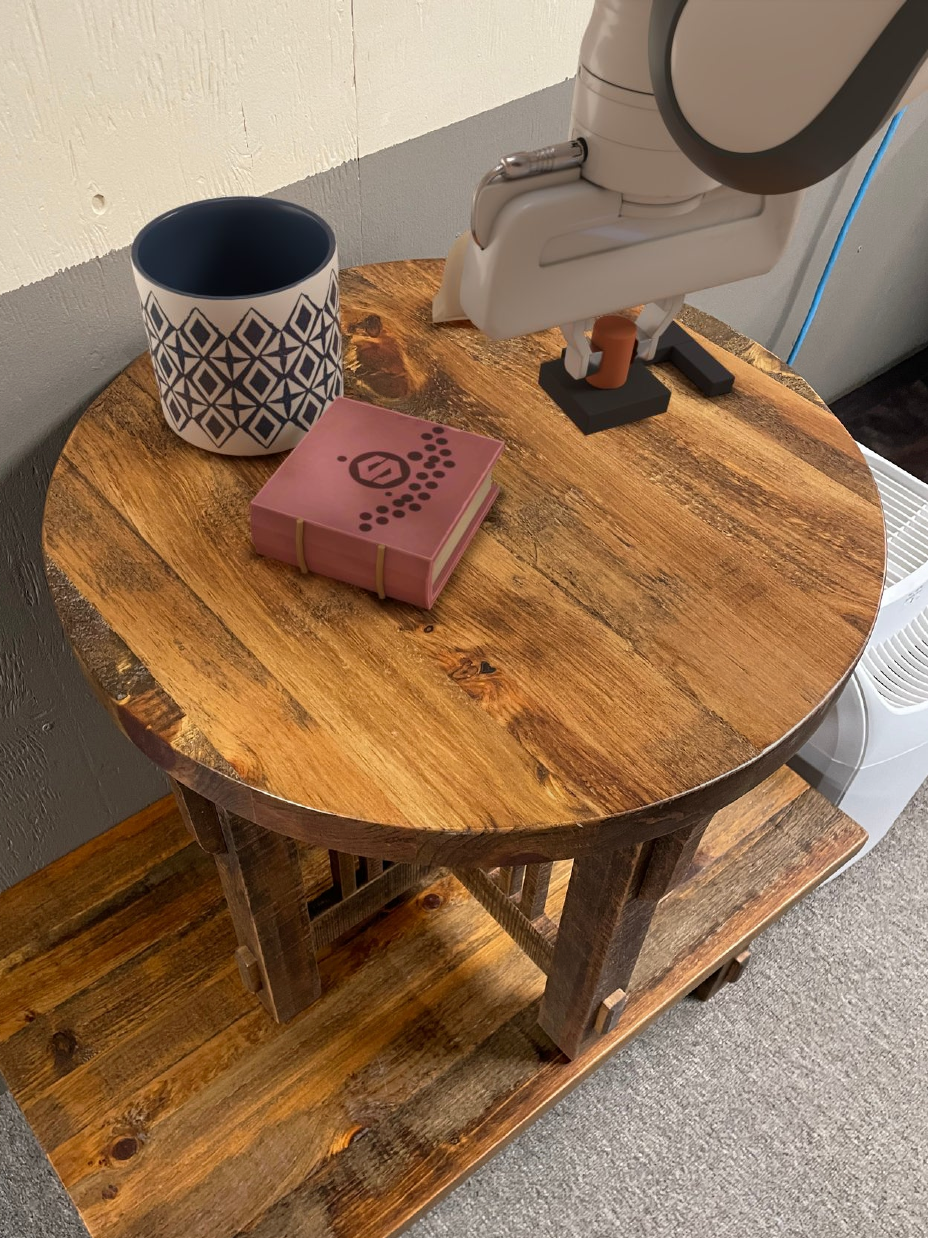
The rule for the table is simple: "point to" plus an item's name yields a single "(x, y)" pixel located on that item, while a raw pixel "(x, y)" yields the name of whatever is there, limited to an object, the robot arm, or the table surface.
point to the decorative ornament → (451, 284)
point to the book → (377, 500)
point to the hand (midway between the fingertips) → (608, 364)
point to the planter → (241, 321)
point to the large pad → (690, 360)
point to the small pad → (604, 401)
